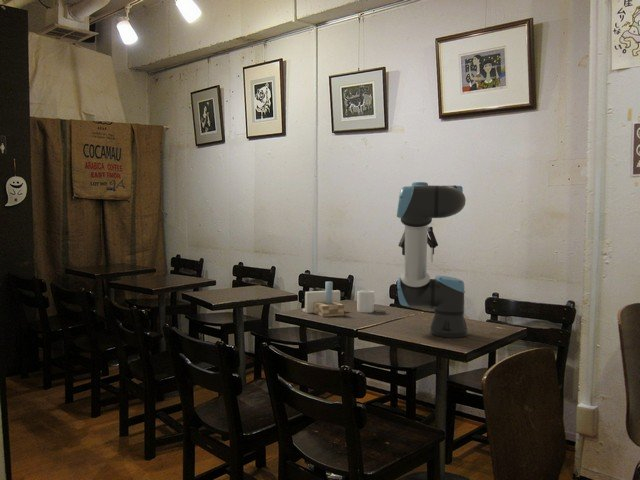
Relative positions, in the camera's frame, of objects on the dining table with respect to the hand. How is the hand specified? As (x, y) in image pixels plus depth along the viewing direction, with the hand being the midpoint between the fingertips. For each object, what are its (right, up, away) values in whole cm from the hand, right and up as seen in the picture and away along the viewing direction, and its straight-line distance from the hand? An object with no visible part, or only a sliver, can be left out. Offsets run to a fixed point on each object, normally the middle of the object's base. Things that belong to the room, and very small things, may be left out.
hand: (418, 262), depth 245 cm
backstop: (-45, -25, +19) cm, 55 cm away
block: (-41, -26, +11) cm, 50 cm away
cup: (-21, -26, +21) cm, 40 cm away
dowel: (-41, -24, +11) cm, 49 cm away
